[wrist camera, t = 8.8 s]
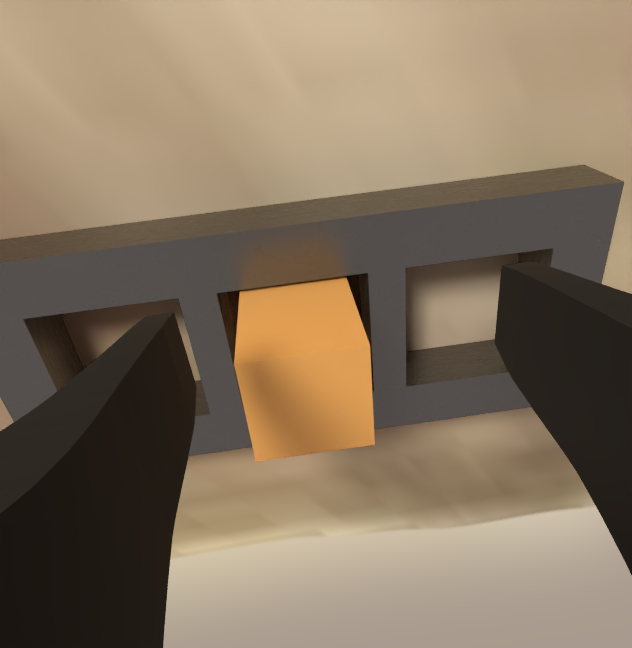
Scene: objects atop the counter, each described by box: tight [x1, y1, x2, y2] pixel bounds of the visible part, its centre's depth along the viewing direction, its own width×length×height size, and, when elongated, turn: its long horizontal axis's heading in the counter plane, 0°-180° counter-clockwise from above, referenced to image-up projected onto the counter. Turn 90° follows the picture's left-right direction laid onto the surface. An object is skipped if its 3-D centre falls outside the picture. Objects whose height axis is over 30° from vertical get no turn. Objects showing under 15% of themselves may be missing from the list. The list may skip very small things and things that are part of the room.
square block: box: [234, 276, 375, 462], centre depth 18 cm, size 4×4×7 cm
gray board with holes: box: [0, 165, 624, 456], centre depth 21 cm, size 24×10×2 cm, turn 96°
